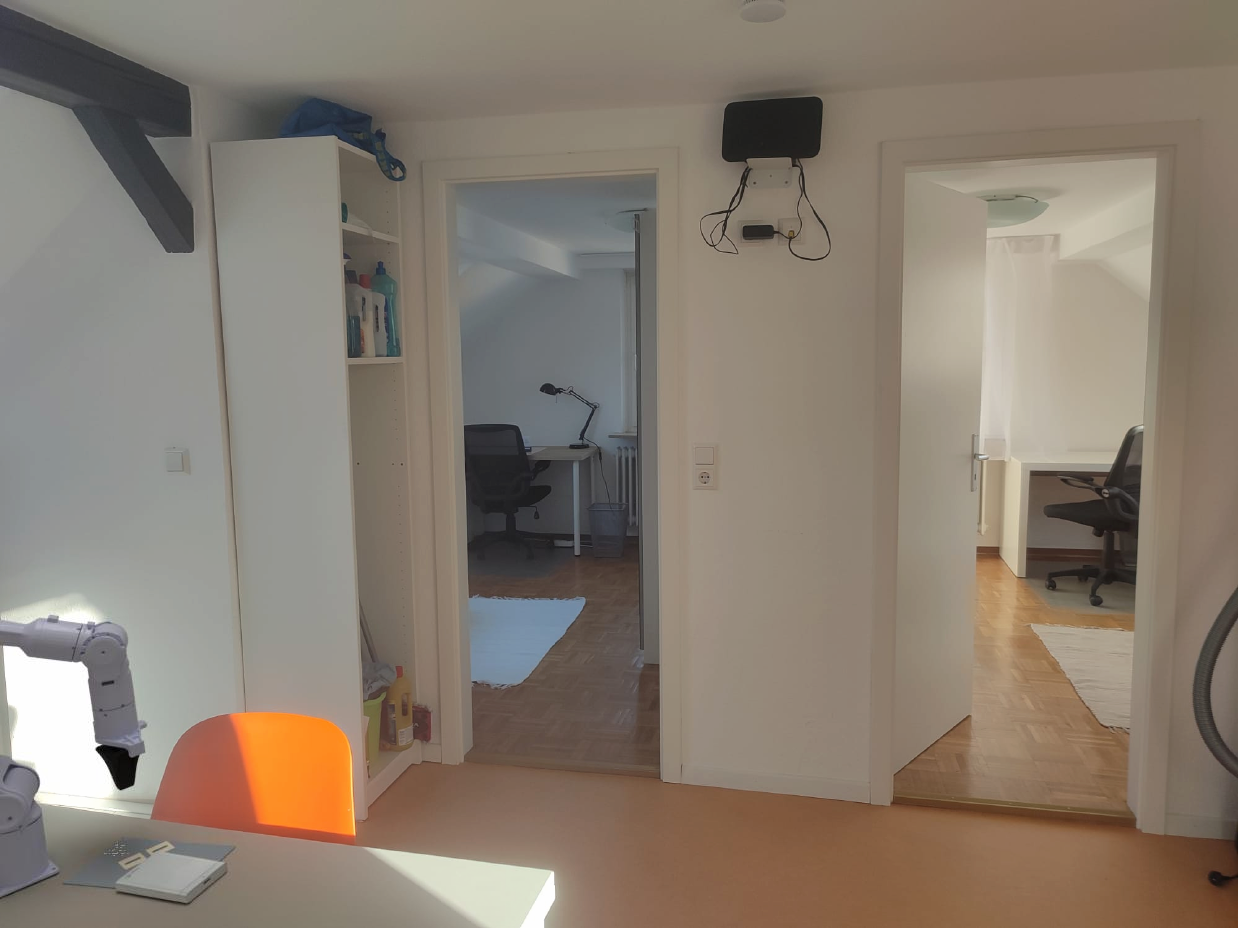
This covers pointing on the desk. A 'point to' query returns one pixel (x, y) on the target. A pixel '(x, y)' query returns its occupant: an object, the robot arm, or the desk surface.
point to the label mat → (139, 859)
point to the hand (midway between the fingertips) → (125, 786)
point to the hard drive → (171, 877)
